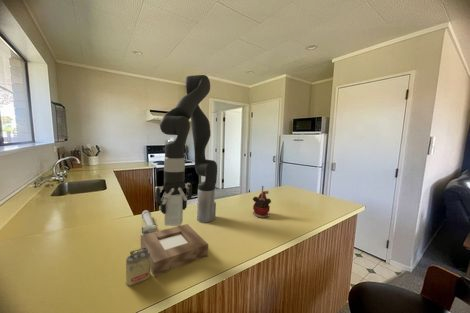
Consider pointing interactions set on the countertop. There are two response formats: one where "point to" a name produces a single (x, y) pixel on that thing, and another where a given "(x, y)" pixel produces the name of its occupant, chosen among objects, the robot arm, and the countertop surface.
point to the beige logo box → (138, 266)
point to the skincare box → (174, 210)
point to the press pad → (172, 241)
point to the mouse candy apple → (261, 205)
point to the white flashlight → (148, 223)
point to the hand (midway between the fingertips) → (173, 211)
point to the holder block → (173, 249)
